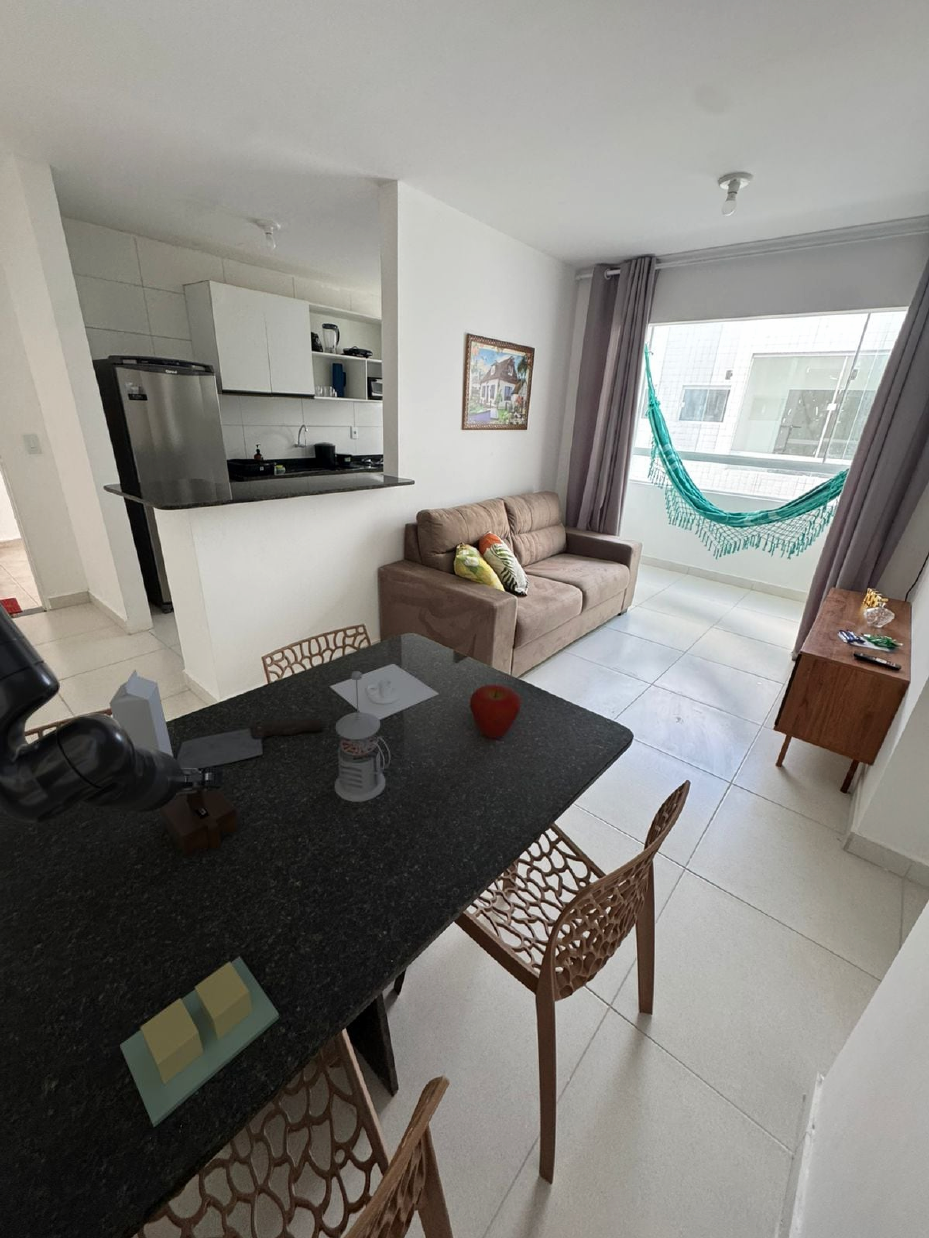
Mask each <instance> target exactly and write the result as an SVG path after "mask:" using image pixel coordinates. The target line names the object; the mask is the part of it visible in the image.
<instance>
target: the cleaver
mask: <svg viewBox="0 0 929 1238" xmlns="http://www.w3.org/2000/svg"><path fill="white" fill-rule="evenodd" d="M322 731H324V720H323V718H320V717H317V718H316V717H312V718H299V719H298V718H297V719H288V720H280V721H273V722H266V723H265V722H264V723H260V724H255V725H254V724H253V725H252V726H251V727H250V728H244V729H238V730H233V731H227V732H223V733H222V732H221V733H217V734H211V735H206V736H201V737H196V738H193V739H188V740H184V741H182V742H181V745H180V748H179V750H178V754H177V758H176V760H177V762H178V763H179V765H180V767H181V768H197V769H203V768H205V767H216V766H221V765H225V764H231V763H234V762H239V761H243V760H246V759H250V758H254V757H257V756H262V755H263V754H264V752H263V741H264V740H265V739H266V738H268V737H272V736H291V735H293V736H294V735H297V734H301V733H309V732H322Z"/></svg>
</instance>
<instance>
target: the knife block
mask: <svg viewBox="0 0 929 1238" xmlns="http://www.w3.org/2000/svg"><path fill="white" fill-rule="evenodd" d="M183 790H186V789H185V788H184V789H183ZM203 793H204V798H205V805H204V807H203V810H204V811H205V812H206V816H207V817H205V818H204V819H202V820H201V818H200V817H199V816H198V815H197V813H196V812H195V811H194V810H191V809H190V808H189V803H188V799H187V794H181V795H179V796H180V797H178V798H175V799H173V800H171V801H170V802H168V803H167V804H166V805H164V806H163V807H161V808H160V812H161V817H162V820H163V824H164V827H165V829H166V831H167V832H168V834H170V836H171V837H172V839H173V840H174V841H175V843H176V844H177V846H178V847H179V849H180V850H181V852H182V853H183V854H184V856H185V857H186V858H188V857H190V856H193V855H194V854H196V853H198V852H200V851H202V850H203V849H205V848H207V847H208V846H210V847H211V849H212V850H214V851H215V850H216V849H217V848H220V847H221V846H222V845H223V843H222V839H223V838H224V837H226V836H228V835H229V834H231V833H233V832H235V831H236V830H238V829H240V827H239V821H238V814H237V810H236V807H235V806H234V805H233V804H232V802H231V801H230V800H229V799H228V798H227V797H226V796H225V794H224V793H223V792H222V791H220V788H219V789H216V788H212V790H210V791H203Z"/></svg>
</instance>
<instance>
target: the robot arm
mask: <svg viewBox="0 0 929 1238" xmlns="http://www.w3.org/2000/svg"><path fill="white" fill-rule="evenodd" d="M60 688H61V684H60V681H59V678H58V677H57V675H56V674H55V673H54V671H53V670H52V668H51V667H50V666H49V664H48V663H47V662H45V659H44V658H43V656H41V654H40V653H39V651H38V650H37V649H36V648H35V647H34V645H33V644H32V643H31V641H30V640H29V639H28V638H27V636H26V635H25V634H24V632H23V631H22V630H21V628H20V627H19V626H18V625H17V624H16V622H15V621H14V619H13V617H11V615H10V614H9V613H8V611H7V610H6V609H5V607H4V605H3V604H2V602H0V808H1V809H2V810H3V811H4V812H5V813H6V814H7V815H9V816H10V817H12V818H13V819H15V820H17V821H20V822H24V823H29V824H44V823H48V822H50V821H53V820H54V819H57V818H58V817H60V816H61V815H63V814H65V813H66V812H68V811H69V810H71V809H73V808H74V807H76V806H77V805H79V804H81V805H84V806H88V807H92V808H98V809H99V808H101V809H110V810H114V811H120V812H137V813H138V812H139V813H140V812H141V813H146V812H152V811H155V810H158V809H161V807H163V806H164V805H166V804H167V803H169V802H171V801H173V800H174V798H175V797H177V796H180V795H181V794H193V793H196V792H197V790H203V791H210V790H212V788H216V789H219V790H220V789H222V788H223V774H224V770H222V769H219V768H216V767H213V766H211V767H205V768H201V771H200V770H199V771H198V769H197V768H181V767H180V765H179V763H178V762H177V758H175V757H174V756H173V757H172V756H171V755H169V754H167V753H164V752H161V751H159V750H156V749H153V748H150V747H147V746H142V745H134V744H133V743H132V741H131V739H130V737H129V735H128V733H127V732H126V730H125V729H124V727H123V726H122V725H121V724H120V723H119V722H118V721H117V720H115V719H114V718H113V716H111V715H109V714H105V713H101V712H100V713H99V712H95V713H87V714H82V715H79V716H77V717H75V718H72V719H71V720H69V721H67V722H64V724H62V725H60V726H59V727H57V728H55V729H53V730H51V731H49V732H47V733H46V734H44V735H42V736H41V737H38V738H37V739H35V740H34V741H32V742H30V743H29V742H28V741H27V739H26V724H27V722H28V720H29V718H30V717H32V716H33V715H34V714H35V713H36V712H37V711H39V710H40V709H41V708H43V707H44V706H45V705H46V704H47V703H49V702H50V701H51V700H52V699H53V698H54V697H55V696H57V694H58V693H59V691H60V690H61V689H60ZM198 782H201V786H198V784H197V783H198ZM185 788H187V789H186V790H184V789H185ZM172 799H173V800H172Z"/></svg>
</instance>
